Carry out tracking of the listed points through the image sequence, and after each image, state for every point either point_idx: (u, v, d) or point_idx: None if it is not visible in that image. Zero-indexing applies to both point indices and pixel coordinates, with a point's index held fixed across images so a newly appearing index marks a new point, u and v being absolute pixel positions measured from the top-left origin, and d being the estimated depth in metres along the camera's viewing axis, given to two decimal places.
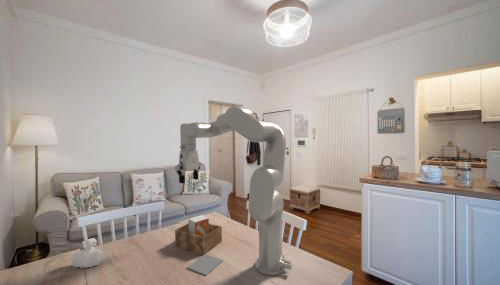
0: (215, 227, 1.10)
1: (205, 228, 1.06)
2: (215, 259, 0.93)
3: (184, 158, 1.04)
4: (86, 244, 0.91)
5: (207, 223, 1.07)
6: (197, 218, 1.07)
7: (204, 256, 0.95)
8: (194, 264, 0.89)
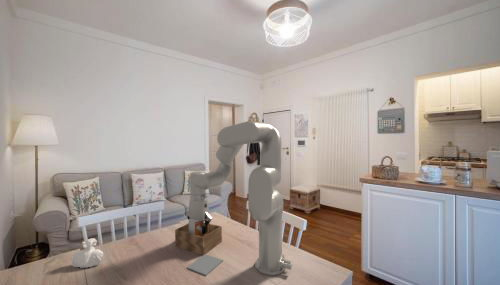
0: (215, 227, 1.10)
1: None
2: (215, 259, 0.93)
3: (208, 206, 1.06)
4: (86, 244, 0.91)
5: None
6: None
7: (204, 256, 0.95)
8: (194, 264, 0.89)
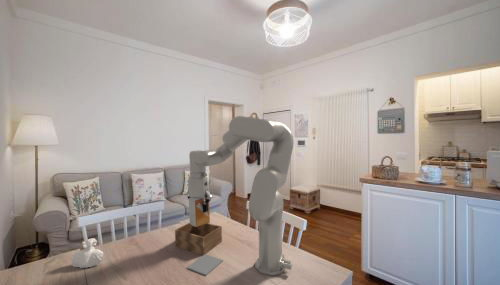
0: (215, 227, 1.10)
1: None
2: (215, 259, 0.93)
3: (208, 185, 1.06)
4: (86, 244, 0.91)
5: None
6: None
7: (204, 256, 0.95)
8: (194, 264, 0.89)
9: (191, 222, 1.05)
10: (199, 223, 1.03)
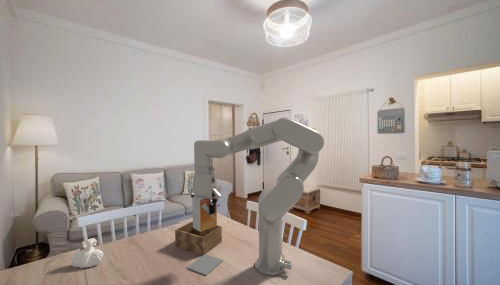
0: (215, 227, 1.10)
1: None
2: (215, 259, 0.93)
3: None
4: (86, 244, 0.91)
5: None
6: None
7: (204, 256, 0.95)
8: (194, 264, 0.89)
9: (195, 225, 0.87)
10: (204, 227, 0.86)
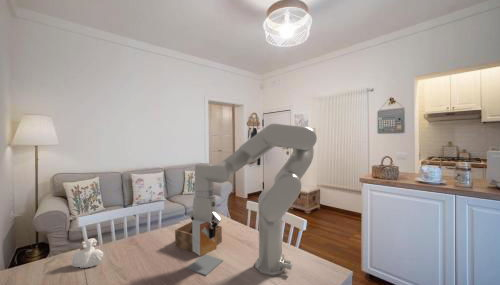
0: None
1: None
2: (215, 259, 0.93)
3: (216, 205, 0.89)
4: (86, 244, 0.91)
5: None
6: None
7: (204, 256, 0.95)
8: (194, 264, 0.89)
9: (194, 249, 0.88)
10: (204, 251, 0.86)
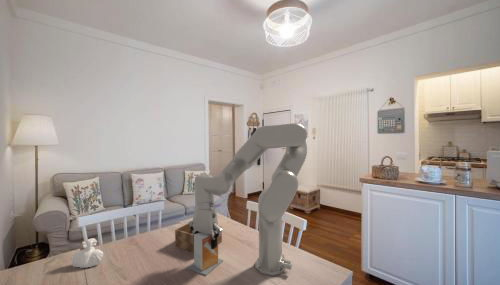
0: None
1: None
2: None
3: (216, 216, 0.89)
4: (86, 244, 0.91)
5: None
6: (205, 233, 0.89)
7: None
8: None
9: (196, 263, 0.87)
10: (206, 265, 0.86)
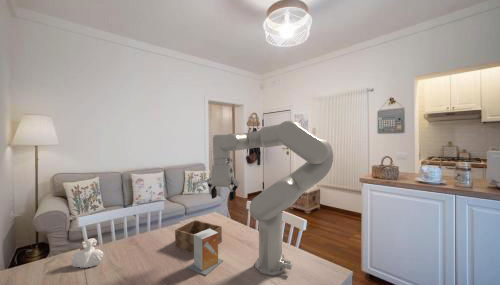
0: (215, 227, 1.10)
1: (214, 244, 0.89)
2: None
3: (233, 172, 0.97)
4: (86, 244, 0.91)
5: (216, 239, 0.90)
6: (205, 233, 0.89)
7: None
8: None
9: (196, 263, 0.87)
10: (206, 265, 0.86)
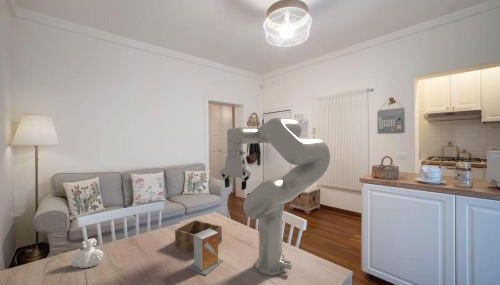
0: (215, 227, 1.10)
1: (214, 244, 0.89)
2: None
3: (245, 163, 1.04)
4: (86, 244, 0.91)
5: (216, 239, 0.90)
6: (205, 233, 0.89)
7: None
8: None
9: (196, 263, 0.87)
10: (206, 265, 0.86)
